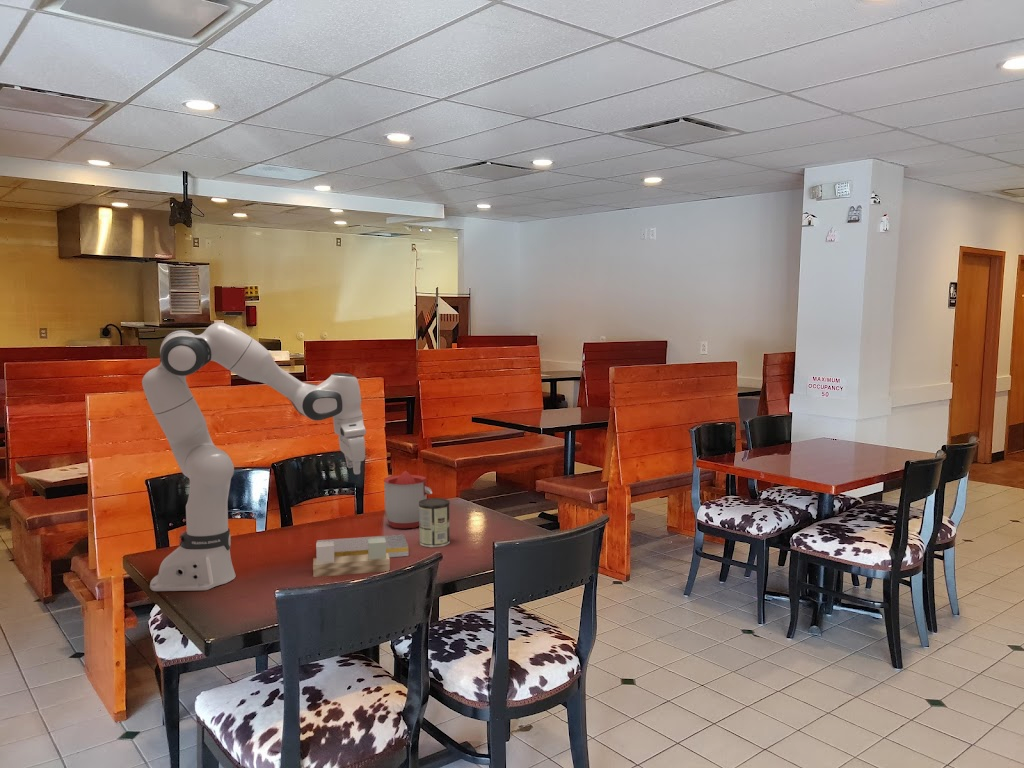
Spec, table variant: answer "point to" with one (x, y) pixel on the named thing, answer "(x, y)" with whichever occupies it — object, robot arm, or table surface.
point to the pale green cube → (376, 548)
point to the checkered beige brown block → (351, 566)
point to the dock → (359, 546)
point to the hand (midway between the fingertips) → (353, 470)
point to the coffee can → (434, 522)
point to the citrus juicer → (404, 499)
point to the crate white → (325, 552)
